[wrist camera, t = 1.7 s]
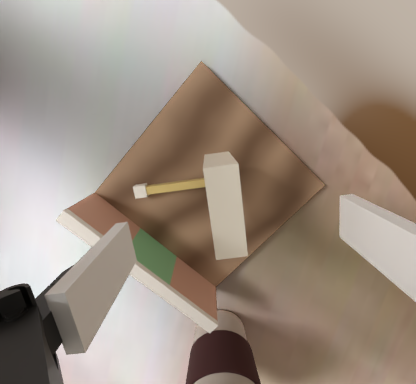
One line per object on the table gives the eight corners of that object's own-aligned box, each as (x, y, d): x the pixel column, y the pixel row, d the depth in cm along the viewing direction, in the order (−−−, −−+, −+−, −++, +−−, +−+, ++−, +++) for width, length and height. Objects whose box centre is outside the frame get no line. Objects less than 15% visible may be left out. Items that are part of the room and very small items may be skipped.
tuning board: (92, 198, 30) (87, 201, 29) (201, 63, 26) (201, 61, 25) (208, 288, 34) (208, 294, 33) (320, 182, 30) (325, 185, 29)
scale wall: (88, 199, 29) (55, 220, 23) (95, 191, 29) (63, 210, 22) (209, 293, 33) (209, 333, 26) (216, 286, 32) (218, 325, 26)
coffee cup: (236, 291, 34) (258, 413, 20) (262, 340, 36) (298, 482, 22) (175, 314, 35) (152, 447, 21) (203, 361, 37) (201, 509, 23)
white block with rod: (225, 147, 27) (238, 163, 16) (232, 204, 29) (247, 256, 18) (131, 160, 28) (76, 185, 16) (143, 216, 30) (102, 273, 18)
